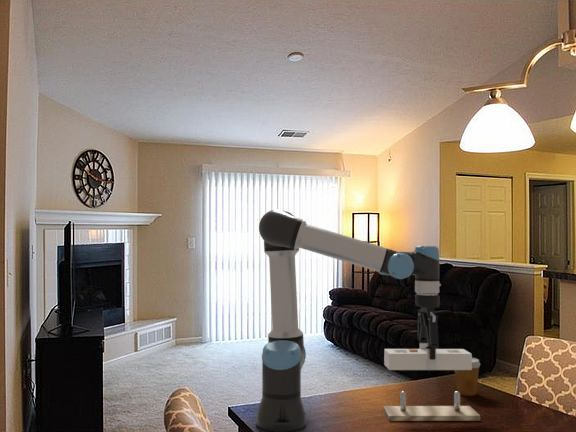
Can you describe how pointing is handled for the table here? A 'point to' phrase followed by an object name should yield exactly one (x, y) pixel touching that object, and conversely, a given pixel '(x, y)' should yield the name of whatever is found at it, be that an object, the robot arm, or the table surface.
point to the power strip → (418, 359)
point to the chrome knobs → (456, 401)
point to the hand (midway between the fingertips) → (427, 366)
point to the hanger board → (431, 413)
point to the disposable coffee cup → (468, 379)
